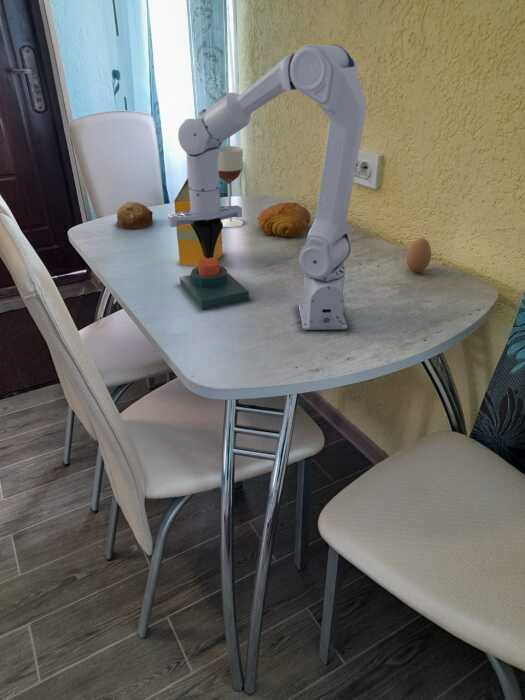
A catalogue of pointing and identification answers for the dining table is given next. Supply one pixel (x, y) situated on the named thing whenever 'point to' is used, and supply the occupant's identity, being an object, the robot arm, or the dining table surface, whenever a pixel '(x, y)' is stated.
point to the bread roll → (134, 215)
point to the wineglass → (230, 173)
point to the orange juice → (191, 234)
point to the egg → (418, 255)
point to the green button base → (213, 289)
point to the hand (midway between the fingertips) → (208, 256)
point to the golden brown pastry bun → (284, 219)
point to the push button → (208, 267)
